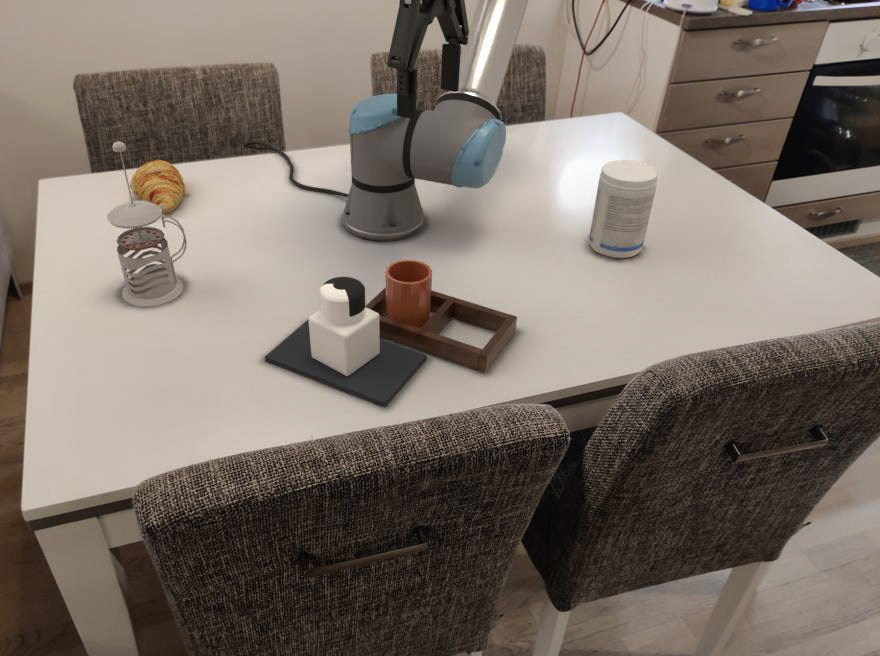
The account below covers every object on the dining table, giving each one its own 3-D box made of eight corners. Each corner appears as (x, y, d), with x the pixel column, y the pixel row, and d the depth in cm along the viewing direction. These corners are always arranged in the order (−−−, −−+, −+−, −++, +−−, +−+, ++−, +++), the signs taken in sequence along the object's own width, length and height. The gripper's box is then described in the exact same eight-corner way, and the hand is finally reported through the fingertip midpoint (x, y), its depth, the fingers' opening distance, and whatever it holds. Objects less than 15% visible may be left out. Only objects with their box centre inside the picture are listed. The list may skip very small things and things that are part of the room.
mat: (265, 360, 104) (264, 356, 104) (313, 319, 113) (312, 315, 112) (385, 407, 97) (384, 402, 96) (426, 359, 105) (427, 354, 104)
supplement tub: (652, 251, 131) (672, 173, 122) (615, 265, 126) (633, 186, 117) (612, 229, 137) (628, 154, 128) (576, 242, 133) (589, 166, 124)
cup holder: (358, 329, 111) (357, 312, 109) (394, 294, 118) (394, 278, 117) (485, 372, 103) (486, 356, 101) (515, 332, 110) (517, 316, 109)
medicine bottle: (344, 335, 108) (340, 265, 101) (380, 353, 105) (380, 282, 97) (310, 357, 104) (304, 286, 96) (347, 378, 100) (344, 305, 93)
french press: (119, 280, 121) (80, 133, 106) (190, 268, 124) (162, 124, 109) (123, 311, 114) (82, 159, 99) (198, 297, 117) (170, 148, 102)
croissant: (188, 230, 142) (201, 193, 139) (137, 217, 136) (149, 178, 133) (165, 186, 157) (177, 152, 154) (118, 172, 151) (129, 136, 148)
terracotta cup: (377, 326, 111) (377, 275, 106) (399, 304, 116) (400, 255, 111) (416, 339, 109) (418, 288, 103) (437, 316, 114) (439, 267, 108)
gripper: (413, -46, 84) (410, 134, 97) (499, -73, 101) (486, 83, 114) (358, -52, 86) (362, 124, 100) (451, -77, 104) (444, 76, 117)
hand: (428, 103), depth 107 cm, fingers open, 13 cm apart
